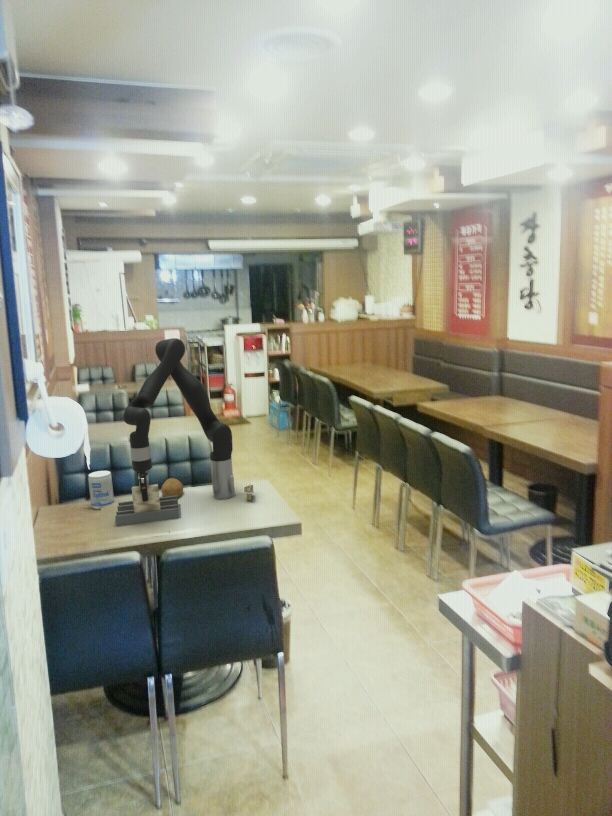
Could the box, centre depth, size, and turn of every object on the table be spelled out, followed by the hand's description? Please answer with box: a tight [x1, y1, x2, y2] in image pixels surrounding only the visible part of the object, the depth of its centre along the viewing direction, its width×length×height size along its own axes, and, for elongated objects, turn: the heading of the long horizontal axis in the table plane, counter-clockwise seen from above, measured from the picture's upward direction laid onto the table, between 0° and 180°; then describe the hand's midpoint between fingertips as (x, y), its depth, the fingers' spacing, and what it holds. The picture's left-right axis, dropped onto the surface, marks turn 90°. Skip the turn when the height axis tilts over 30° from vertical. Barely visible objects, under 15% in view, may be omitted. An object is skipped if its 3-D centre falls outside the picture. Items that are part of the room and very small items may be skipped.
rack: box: [113, 496, 182, 528], centre depth 254 cm, size 26×16×6 cm, turn 102°
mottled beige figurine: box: [243, 483, 254, 503], centre depth 270 cm, size 12×18×7 cm, turn 5°
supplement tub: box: [88, 470, 115, 510], centre depth 270 cm, size 10×10×15 cm
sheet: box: [131, 483, 161, 513], centre depth 247 cm, size 10×2×14 cm, turn 101°
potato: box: [160, 477, 184, 498], centre depth 276 cm, size 10×14×8 cm
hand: (145, 498), depth 247 cm, fingers open, 6 cm apart
